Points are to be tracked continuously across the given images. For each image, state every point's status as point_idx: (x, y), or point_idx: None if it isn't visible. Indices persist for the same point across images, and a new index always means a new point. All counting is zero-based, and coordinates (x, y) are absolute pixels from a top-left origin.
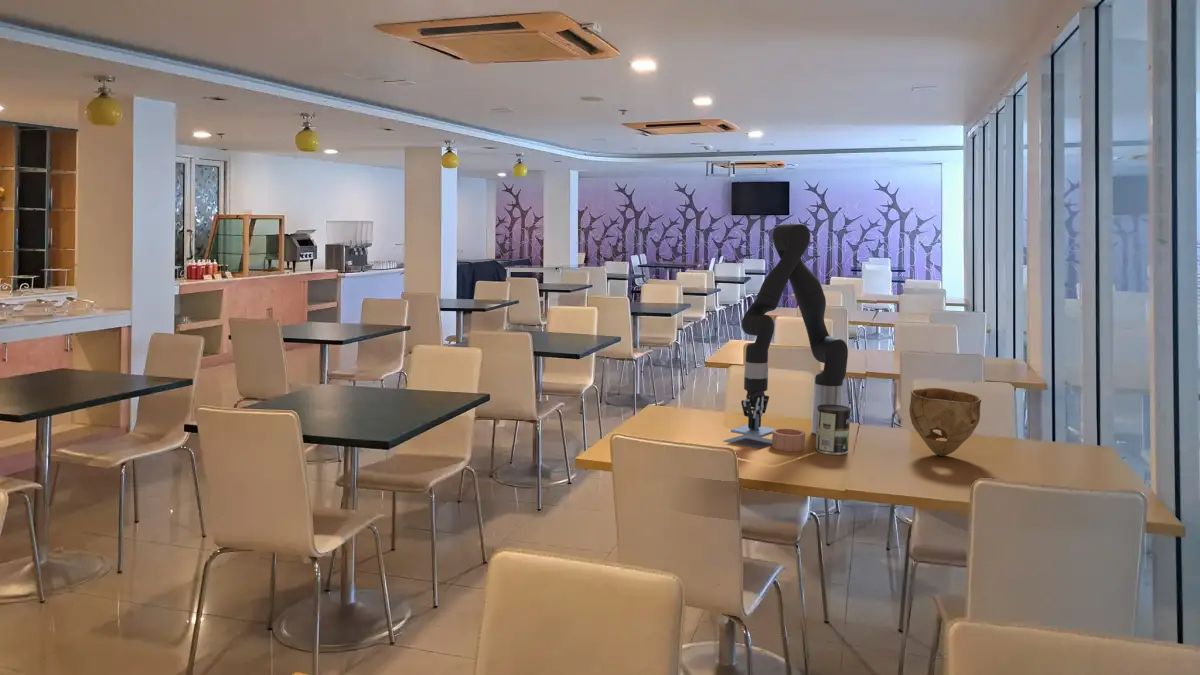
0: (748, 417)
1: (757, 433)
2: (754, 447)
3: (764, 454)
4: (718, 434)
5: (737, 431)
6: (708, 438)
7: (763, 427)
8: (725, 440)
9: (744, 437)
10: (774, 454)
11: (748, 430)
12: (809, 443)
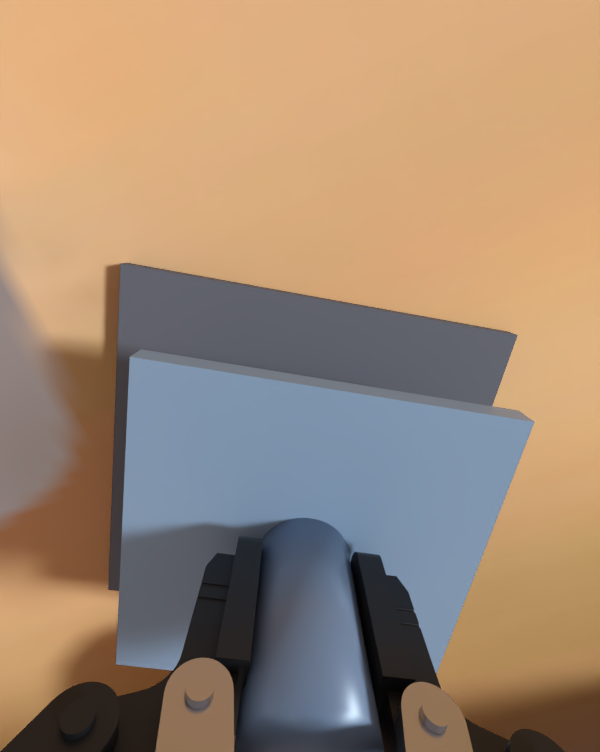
0: (164, 682)
1: (165, 628)
2: (118, 552)
3: (53, 627)
4: (441, 65)
5: (128, 443)
6: (199, 47)
7: (439, 590)
8: (162, 281)
9: (385, 376)
10: (102, 664)
11: (226, 527)
12: (499, 709)
